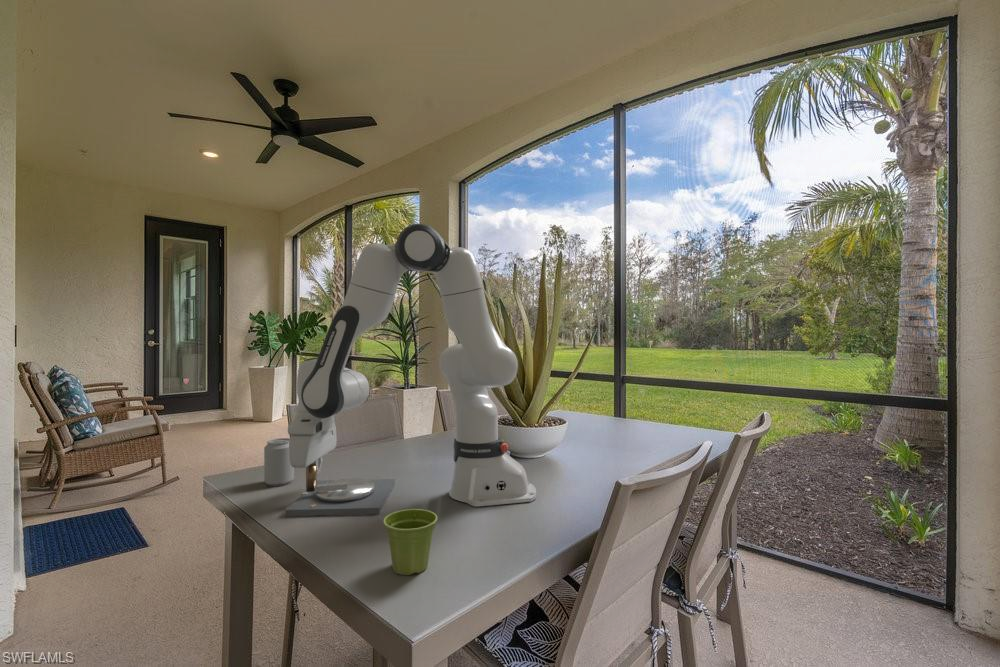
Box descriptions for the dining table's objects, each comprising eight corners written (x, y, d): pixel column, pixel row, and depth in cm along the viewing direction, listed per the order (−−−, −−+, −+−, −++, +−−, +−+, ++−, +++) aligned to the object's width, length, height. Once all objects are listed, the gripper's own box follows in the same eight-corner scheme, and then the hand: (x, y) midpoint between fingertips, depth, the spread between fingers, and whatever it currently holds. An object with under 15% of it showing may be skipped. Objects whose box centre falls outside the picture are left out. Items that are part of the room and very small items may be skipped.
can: (282, 488, 124) (282, 443, 124) (258, 486, 126) (258, 442, 126) (299, 479, 131) (299, 437, 131) (276, 477, 133) (276, 436, 133)
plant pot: (400, 551, 88) (400, 506, 88) (445, 558, 85) (445, 511, 85) (372, 576, 79) (372, 525, 79) (422, 584, 76) (422, 532, 76)
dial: (373, 480, 124) (373, 454, 124) (375, 498, 111) (375, 468, 111) (309, 486, 120) (309, 458, 120) (302, 505, 106) (302, 474, 106)
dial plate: (394, 484, 127) (394, 478, 127) (379, 514, 106) (379, 507, 106) (316, 486, 126) (316, 479, 126) (285, 516, 105) (285, 508, 105)
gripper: (319, 413, 127) (319, 463, 127) (284, 428, 106) (283, 488, 106) (342, 413, 127) (342, 464, 127) (311, 429, 106) (310, 489, 106)
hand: (315, 475), depth 116 cm, fingers closed
